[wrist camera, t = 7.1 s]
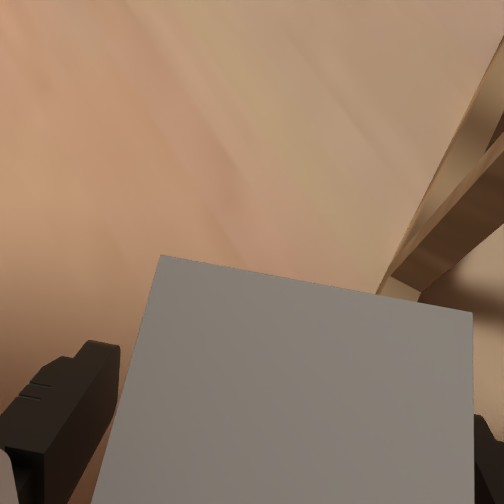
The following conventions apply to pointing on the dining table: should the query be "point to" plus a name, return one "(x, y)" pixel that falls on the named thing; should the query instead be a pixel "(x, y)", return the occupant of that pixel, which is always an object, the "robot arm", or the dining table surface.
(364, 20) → the dining table surface
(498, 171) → the frame
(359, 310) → the granite block
